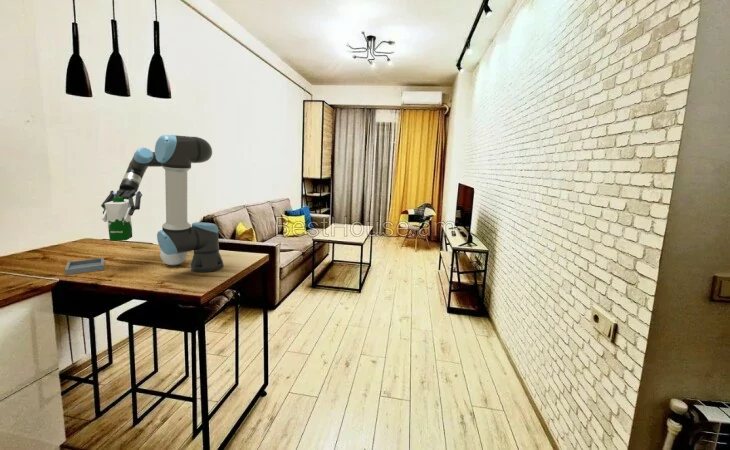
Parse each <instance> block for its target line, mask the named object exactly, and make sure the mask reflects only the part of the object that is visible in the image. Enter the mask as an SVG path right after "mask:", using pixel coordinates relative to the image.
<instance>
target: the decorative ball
mask: <svg viewBox="0 0 730 450" xmlns="http://www.w3.org/2000/svg"><path fill="white" fill-rule="evenodd" d="M187 253H188V252H183V253H178V254H172V255H167V254H165V253H164V252H163V251H162V250H161V249H160V251H159V255H160V256H159V257H160V260H161V261H162V262H163V263H164V264H166V265H168V266H178V265H181V264H182V263H183V262H184V261H186V258H187V255H188V254H187Z"/></svg>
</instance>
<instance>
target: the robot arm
mask: <svg viewBox="0 0 730 450" xmlns="http://www.w3.org/2000/svg"><path fill="white" fill-rule="evenodd" d="M154 145H155V146H154V151H152V150H151V149H150V148H146V147H139V148H137V149H136V150H135V152H134V153H133V156H132V159H131V160H130V162H129V163H128V167H127V169H126V172H125V173H124V176H123V178H122V179H121V180H122V181H121V183H120V185H119V189H118V190H116V191H114V190H110V192H109V194H108V196H107V197H106V198H105V200H104V201H103V202H102V204H101V205H100V207H101V208H102V209H103V212H102V214H103V215H102V217H101V220H102V221H103V222H105V223H108V222H107V214H106V208H105V203H107V202H111V201H114V200H113V198H114V197H124V200H128V201H129V204H130V208H128V210H127V212H126V215H125V217H124V220H125V221H126V222H128V221H129V219H130V216H131V217H132V216H133V214H134V212H135V211H136V210H137V211H138V210H140V209H141V201H142V199H141V198H142V196H143V193H142V192H141V191H140V190H139V188H140V185H141V182H142V180H143V178H144V175H145V173H146V171H147V169H148V167H149V168H151V167H153V168H155V167H156V168H157V167H158V168H159V167H162V169H163V170H164V176H165V179H164V180H165V181H164V182H165V222H164V223H163V224H162V226H161V227H162V228H161V229H162V230H159V231H157V234H156V240H157V243H158V246H159V248H160V251H161V250H162V251H163V252H164V253H165V254H167V255H172V254H178V253H183V252H187V253H188V252H193V255H192V259H191V263H190V270H191V272H195V273H210V272H215V271H219V270H222V268H224V259H223V258H222V256H221V253H220V246H219V245H220V244H219V243H220V241H219V239H220V238H219V228H218V225H217V224H215V223H212V222H201V221H200V222H196V221H195V222H192V223H191V224H190V222H188V171H190V170H191V169H192V164H200V163H205V162H207V161H210V159H211V158H212V157H213V156H212V155H213V148H212V146H211V144H210V142H208V141H207V140H206V139H204V138H201V137H199V136H187V135H177V134H176V135H174V134H163V135H161V136H159V137H158V139H157V140H156V142H155V144H154ZM138 190H139V191H138ZM133 197H135V201H134V198H133Z"/></svg>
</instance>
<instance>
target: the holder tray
mask: <svg viewBox="0 0 730 450" xmlns="http://www.w3.org/2000/svg"><path fill="white" fill-rule="evenodd" d="M66 263H67V264H66V266H65V269H64V273H65V275H66V276H68V275H74V274H83V273H90V272H97V271H98V272H99V271H104V270H105V259H104V257H99V258H88V259H80V260H71V261H67V262H66Z"/></svg>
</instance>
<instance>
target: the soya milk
mask: <svg viewBox="0 0 730 450" xmlns="http://www.w3.org/2000/svg"><path fill="white" fill-rule="evenodd" d="M113 200H114V201H111V202H107V203H105V208H106V214H107V222H106V223H107V228H108V236H109V242H110V241H111V242H113V241H114V242H115V241H116V242H117V241H127V240H130V239H132V238H133V225H132V216H130V219H129V221H128V222H126V221H125V220H124V217H125V215H126V212H127V210H128V208H131V207H130V204H129V200H128V201H126V200H125V199H124V197H114V198H113Z"/></svg>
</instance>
